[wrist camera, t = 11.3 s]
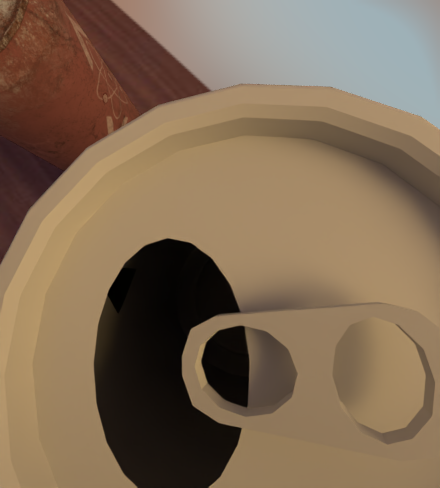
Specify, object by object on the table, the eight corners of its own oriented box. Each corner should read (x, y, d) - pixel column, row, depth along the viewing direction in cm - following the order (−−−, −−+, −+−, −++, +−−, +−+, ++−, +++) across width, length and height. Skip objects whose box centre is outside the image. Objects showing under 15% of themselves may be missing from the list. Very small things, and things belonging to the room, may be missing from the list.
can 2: (178, 230, 15) (-75, 53, 3) (317, 222, 14) (642, -44, 3) (181, 371, 14) (-168, 860, 2) (330, 370, 13) (964, 1085, 2)
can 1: (120, 117, 23) (-70, -115, 9) (180, 154, 22) (67, -45, 8) (80, 176, 23) (-177, 27, 9) (138, 215, 22) (-48, 115, 8)
